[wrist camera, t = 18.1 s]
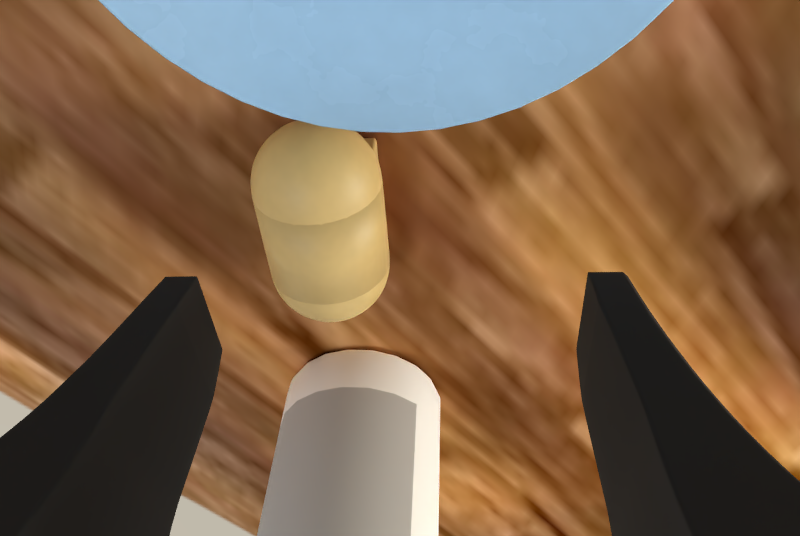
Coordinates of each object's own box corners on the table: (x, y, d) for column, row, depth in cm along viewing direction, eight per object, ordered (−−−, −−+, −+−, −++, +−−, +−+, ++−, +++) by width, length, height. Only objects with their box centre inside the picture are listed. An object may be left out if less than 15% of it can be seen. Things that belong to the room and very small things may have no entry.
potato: (253, 94, 22) (222, 168, 19) (381, 91, 22) (370, 164, 19) (291, 267, 27) (271, 347, 24) (397, 266, 26) (390, 347, 24)
